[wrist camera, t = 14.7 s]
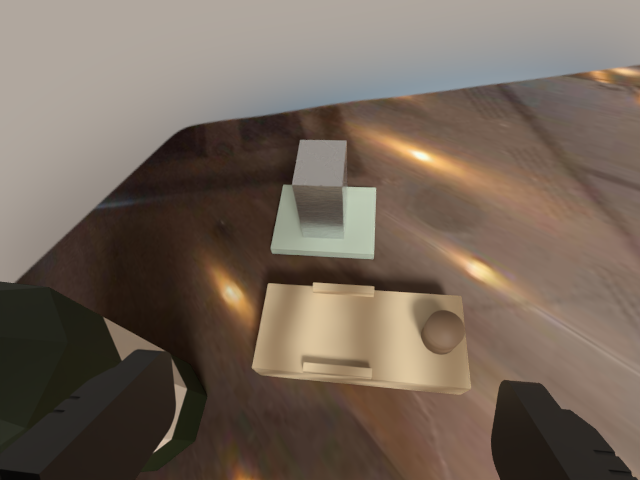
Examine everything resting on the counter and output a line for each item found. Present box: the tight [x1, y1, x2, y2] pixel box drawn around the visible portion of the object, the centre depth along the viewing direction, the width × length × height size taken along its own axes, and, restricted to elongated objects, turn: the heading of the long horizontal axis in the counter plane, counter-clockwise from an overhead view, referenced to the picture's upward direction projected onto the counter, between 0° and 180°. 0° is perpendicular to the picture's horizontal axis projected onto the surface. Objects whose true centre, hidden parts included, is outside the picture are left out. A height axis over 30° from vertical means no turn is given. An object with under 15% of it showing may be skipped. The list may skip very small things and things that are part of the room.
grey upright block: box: [292, 140, 347, 239], centre depth 33 cm, size 4×6×8 cm
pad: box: [271, 185, 376, 259], centre depth 36 cm, size 10×8×1 cm
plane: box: [252, 282, 471, 395], centre depth 28 cm, size 16×7×5 cm, turn 84°
